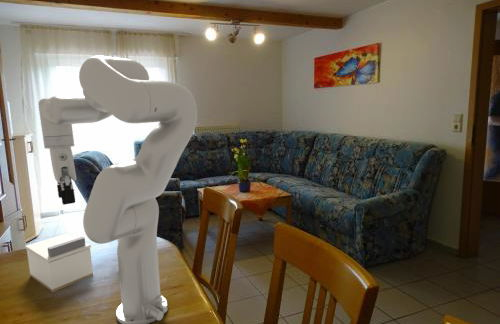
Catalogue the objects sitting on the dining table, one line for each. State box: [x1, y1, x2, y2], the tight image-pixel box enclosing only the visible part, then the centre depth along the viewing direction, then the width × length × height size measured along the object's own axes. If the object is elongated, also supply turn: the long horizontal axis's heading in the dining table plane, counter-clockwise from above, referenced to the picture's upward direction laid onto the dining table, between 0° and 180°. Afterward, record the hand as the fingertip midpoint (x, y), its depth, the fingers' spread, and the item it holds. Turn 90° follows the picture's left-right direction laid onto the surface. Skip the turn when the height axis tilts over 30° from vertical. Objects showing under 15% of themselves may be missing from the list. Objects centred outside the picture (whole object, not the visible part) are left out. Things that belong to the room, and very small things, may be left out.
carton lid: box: [25, 232, 92, 262], centre depth 105 cm, size 16×12×3 cm
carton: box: [26, 248, 94, 293], centre depth 106 cm, size 16×12×9 cm
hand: (66, 200), depth 99 cm, fingers open, 9 cm apart
